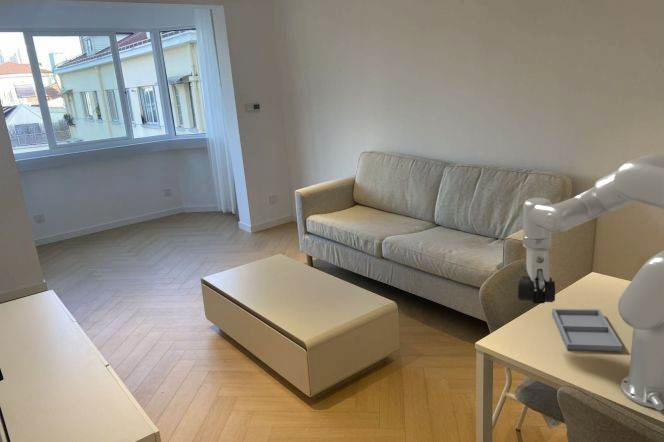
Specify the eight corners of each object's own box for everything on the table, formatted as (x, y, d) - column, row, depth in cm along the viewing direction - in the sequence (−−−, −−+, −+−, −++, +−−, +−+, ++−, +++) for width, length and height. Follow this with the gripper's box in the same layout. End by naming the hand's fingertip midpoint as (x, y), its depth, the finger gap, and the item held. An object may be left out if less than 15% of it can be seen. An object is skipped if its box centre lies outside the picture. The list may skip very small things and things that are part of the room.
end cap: (517, 304, 146) (518, 283, 144) (518, 294, 153) (518, 274, 151) (554, 306, 143) (555, 285, 141) (553, 296, 149) (554, 275, 147)
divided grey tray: (621, 352, 143) (622, 346, 142) (567, 350, 146) (567, 344, 146) (599, 314, 164) (599, 309, 163) (552, 314, 167) (552, 308, 167)
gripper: (557, 251, 133) (556, 310, 138) (544, 230, 150) (543, 284, 155) (528, 252, 135) (527, 310, 140) (518, 231, 151) (518, 284, 156)
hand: (535, 296), depth 147 cm, fingers closed on end cap, 7 cm apart
